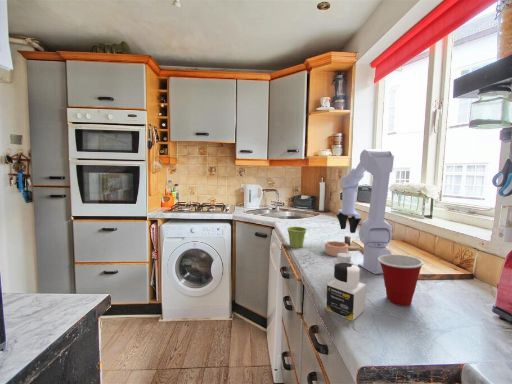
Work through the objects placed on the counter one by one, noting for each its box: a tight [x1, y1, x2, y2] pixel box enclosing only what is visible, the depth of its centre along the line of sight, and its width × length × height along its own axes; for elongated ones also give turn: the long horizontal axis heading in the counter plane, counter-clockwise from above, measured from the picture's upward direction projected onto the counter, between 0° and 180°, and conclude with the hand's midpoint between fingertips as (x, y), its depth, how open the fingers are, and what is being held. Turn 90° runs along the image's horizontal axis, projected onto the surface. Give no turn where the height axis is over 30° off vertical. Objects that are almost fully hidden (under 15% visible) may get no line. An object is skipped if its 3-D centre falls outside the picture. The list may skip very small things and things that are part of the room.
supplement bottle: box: [333, 253, 354, 267], centre depth 77 cm, size 6×6×10 cm
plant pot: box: [286, 226, 307, 249], centre depth 119 cm, size 9×9×9 cm
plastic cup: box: [378, 254, 424, 307], centre depth 69 cm, size 11×11×12 cm
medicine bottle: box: [326, 263, 366, 322], centre depth 64 cm, size 7×7×12 cm
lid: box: [343, 235, 361, 252], centre depth 117 cm, size 11×11×5 cm
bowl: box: [324, 240, 349, 258], centre depth 108 cm, size 9×9×4 cm
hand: (347, 230), depth 117 cm, fingers open, 7 cm apart
